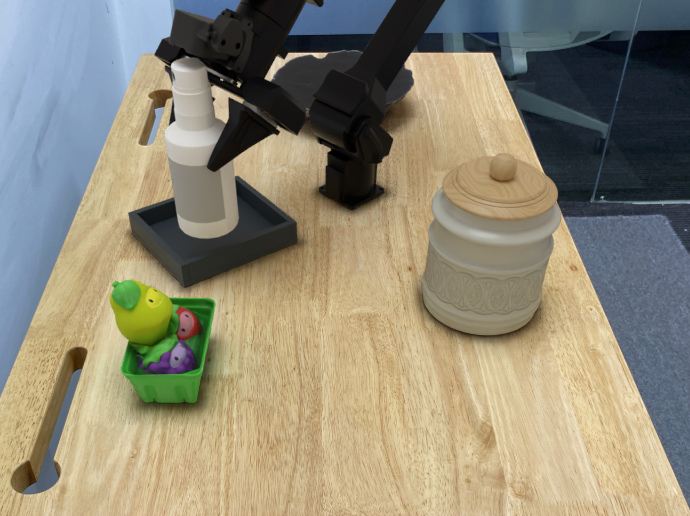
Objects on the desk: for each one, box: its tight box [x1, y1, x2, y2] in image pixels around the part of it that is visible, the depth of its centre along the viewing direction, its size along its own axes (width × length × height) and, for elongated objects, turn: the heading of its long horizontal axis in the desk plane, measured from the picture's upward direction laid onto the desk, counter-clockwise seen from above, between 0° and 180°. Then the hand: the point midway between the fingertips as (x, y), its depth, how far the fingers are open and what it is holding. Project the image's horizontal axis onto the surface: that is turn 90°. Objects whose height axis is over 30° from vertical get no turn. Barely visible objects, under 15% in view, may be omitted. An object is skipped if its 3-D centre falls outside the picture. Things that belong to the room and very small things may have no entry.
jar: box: [421, 152, 562, 336], centre depth 80 cm, size 13×13×18 cm
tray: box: [127, 175, 298, 288], centre depth 94 cm, size 16×14×3 cm
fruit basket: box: [109, 279, 217, 404], centre depth 74 cm, size 11×9×11 cm
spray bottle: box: [163, 58, 239, 238], centre depth 81 cm, size 7×7×18 cm
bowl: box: [269, 49, 415, 122], centre depth 118 cm, size 22×22×5 cm
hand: (189, 157), depth 81 cm, fingers closed on spray bottle, 7 cm apart
